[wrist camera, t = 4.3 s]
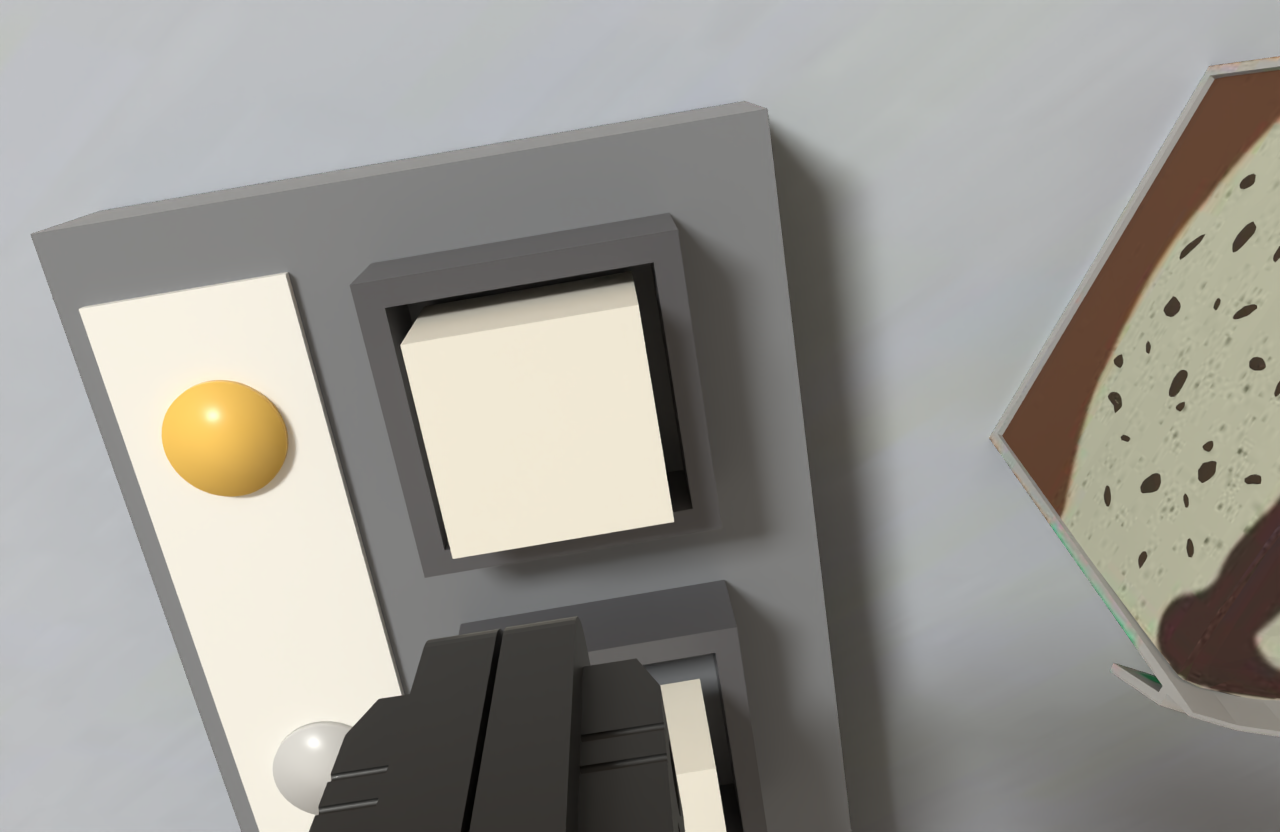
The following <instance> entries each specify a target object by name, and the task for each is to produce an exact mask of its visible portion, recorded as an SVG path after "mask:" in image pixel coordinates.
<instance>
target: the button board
mask: <svg viewBox="0 0 1280 832" xmlns="http://www.w3.org/2000/svg"><path fill="white" fill-rule="evenodd" d="M31 237H32V240H33V243H34V246H35V248H36V251H37V254H38V257H39V260H40V263H41V265H42V268H43V271H44V274H45V277H46V280H47V282H48V285H49V288H50V291H51V294H52V297H53V299H54V302H55V305H56V308H57V311H58V314H59V316H60V319H61V322H62V325H63V328H64V331H65V333H66V336H67V339H68V342H69V345H70V348H71V350H72V353H73V356H74V359H75V362H76V364H77V367H78V370H79V373H80V376H81V379H82V381H83V384H84V387H85V390H86V393H87V396H88V398H89V401H90V404H91V407H92V410H93V413H94V415H95V418H96V421H97V424H98V427H99V430H100V432H101V435H102V438H103V441H104V444H105V447H106V449H107V452H108V455H109V458H110V461H111V464H112V466H113V469H114V472H115V475H116V478H117V481H118V483H119V486H120V489H121V492H122V495H123V498H124V500H125V503H126V506H127V509H128V512H129V515H130V517H131V520H132V523H133V526H134V529H135V532H136V534H137V537H138V540H139V543H140V546H141V549H142V551H143V554H144V557H145V560H146V563H147V566H148V568H149V571H150V574H151V577H152V580H153V583H154V585H155V588H156V591H157V594H158V597H159V600H160V602H161V605H162V608H163V611H164V614H165V617H166V619H167V622H168V625H169V628H170V631H171V633H172V636H173V639H174V642H175V645H176V648H177V650H178V653H179V656H180V659H181V662H182V665H183V667H184V670H185V673H186V676H187V679H188V682H189V684H190V687H191V690H192V693H193V696H194V699H195V701H196V704H197V707H198V710H199V713H200V716H201V718H202V721H203V724H204V727H205V730H206V733H207V735H208V738H209V741H210V744H211V747H212V750H213V752H214V755H215V758H216V761H217V764H218V767H219V769H220V772H221V775H222V778H223V781H224V784H225V786H226V789H227V792H228V795H229V798H230V801H231V803H232V806H233V809H234V812H235V815H236V818H237V820H238V823H239V826H240V829H241V832H309V830H310V827H311V825H312V822H313V819H314V817H315V815H319V809H318V806H319V803H320V801H321V798H322V795H323V793H324V790H325V787H326V785H327V782H330V781H331V771H332V769H333V766H334V763H335V761H336V758H337V755H338V753H339V750H340V747H341V745H342V742H343V739H344V737H345V735H346V734H347V733H348V731H349V730H350V729H351V728H352V727H353V726H354V725H355V724H356V723H357V722H358V721H359V720H360V718H361V717H362V716H363V715H364V714H365V713H366V712H367V711H368V710H369V709H370V708H371V707H372V705H373V704H374V703H375V702H376V701H377V700H378V699H381V698H387V697H394V696H400V695H407V694H410V692H411V688H412V685H413V682H414V678H415V675H416V672H417V668H418V665H419V662H420V658H421V655H422V651H423V648H424V645H425V643H426V642H427V641H428V640H431V639H437V638H444V637H450V636H456V635H463V634H469V633H475V632H482V631H488V630H495V629H502V630H503V631H504V630H505V628H506V627H512V626H518V625H525V624H531V623H537V622H544V621H550V620H557V619H563V618H569V617H576V616H578V617H579V619H580V621H581V624H582V627H583V631H584V635H585V640H586V645H587V650H588V655H589V660H590V665H597V664H603V663H610V662H616V661H623V660H629V659H635V658H636V659H637V660H638V661H639V662H640V663H641V664H642V665H643V667H644V668H645V669H646V670H647V671H648V672H649V673H650V674H651V676H652V677H653V678H654V679H655V680H656V681H657V682H658V684H659V685H664V684H670V683H676V682H682V681H688V680H694V679H700V683H701V689H702V694H703V700H704V705H705V711H706V716H707V722H708V727H709V733H710V738H711V744H712V749H713V755H714V760H715V766H716V772H717V778H718V784H719V790H720V796H721V802H722V808H723V814H724V820H725V826H726V832H851V824H850V815H849V806H848V798H847V789H846V781H845V772H844V763H843V755H842V746H841V738H840V729H839V720H838V712H837V703H836V695H835V686H834V678H833V669H832V660H831V652H830V643H829V635H828V626H827V617H826V609H825V600H824V592H823V583H822V574H821V566H820V557H819V549H818V540H817V531H816V523H815V514H814V506H813V497H812V488H811V480H810V471H809V463H808V454H807V445H806V437H805V428H804V420H803V411H802V403H801V394H800V385H799V377H798V368H797V360H796V351H795V342H794V334H793V325H792V317H791V308H790V299H789V291H788V282H787V274H786V265H785V256H784V248H783V239H782V231H781V222H780V213H779V205H778V196H777V188H776V179H775V170H774V162H773V153H772V145H771V136H770V128H769V119H768V110H767V108H764V107H761V106H758V105H755V104H752V103H749V102H746V101H742V102H736V103H730V104H725V105H719V106H713V107H707V108H701V109H695V110H689V111H683V112H678V113H672V114H666V115H660V116H654V117H648V118H642V119H637V120H631V121H625V122H619V123H613V124H607V125H601V126H595V127H590V128H584V129H578V130H572V131H566V132H560V133H554V134H548V135H543V136H537V137H531V138H525V139H519V140H513V141H507V142H501V143H496V144H490V145H484V146H478V147H472V148H466V149H460V150H455V151H449V152H443V153H437V154H431V155H425V156H419V157H413V158H408V159H402V160H396V161H390V162H384V163H378V164H372V165H366V166H361V167H355V168H349V169H343V170H337V171H331V172H325V173H320V174H314V175H308V176H302V177H296V178H290V179H284V180H278V181H273V182H267V183H261V184H255V185H249V186H243V187H237V188H231V189H226V190H220V191H214V192H208V193H202V194H196V195H190V196H185V197H179V198H173V199H167V200H161V201H155V202H149V203H143V204H138V205H132V206H126V207H120V208H114V209H108V210H102V211H98V212H95V213H92V214H89V215H86V216H83V217H80V218H77V219H74V220H71V221H68V222H65V223H62V224H59V225H56V226H53V227H50V228H47V229H44V230H41V231H38V232H35V233H32V234H31ZM630 271H632V276H633V281H634V286H635V291H636V295H637V300H638V305H639V311H640V317H641V323H642V329H643V335H644V341H645V348H646V354H647V360H648V366H649V372H650V378H651V384H652V390H653V396H654V402H655V408H656V414H657V420H658V426H659V432H660V438H661V444H662V450H663V456H664V462H665V469H666V475H667V481H668V487H669V493H670V499H671V505H672V511H673V517H674V522H671V523H665V524H659V525H653V526H647V527H641V528H635V529H629V530H623V531H617V532H611V533H605V534H599V535H593V536H587V537H581V538H576V539H570V540H564V541H558V542H552V543H546V544H540V545H534V546H528V547H522V548H516V549H510V550H504V551H498V552H492V553H486V554H480V555H474V556H468V557H462V558H456V559H453V558H452V554H451V550H450V546H449V542H448V538H447V534H446V529H445V525H444V521H443V517H442V513H441V509H440V505H439V501H438V497H437V493H436V489H435V485H434V481H433V476H432V472H431V468H430V464H429V460H428V456H427V452H426V448H425V444H424V440H423V436H422V432H421V428H420V423H419V419H418V415H417V411H416V407H415V403H414V399H413V395H412V391H411V387H410V383H409V379H408V375H407V370H406V366H405V362H404V358H403V354H402V350H401V346H400V345H401V343H402V342H403V340H404V338H405V337H406V335H407V334H408V332H409V330H410V329H411V327H412V326H413V324H414V322H415V321H416V319H417V318H418V316H419V314H420V313H421V311H422V310H423V308H424V306H430V305H435V304H441V303H447V302H453V301H459V300H465V299H471V298H477V297H483V296H489V295H495V294H500V293H506V292H512V291H518V290H524V289H530V288H536V287H542V286H548V285H554V284H559V283H565V282H571V281H577V280H583V279H589V278H595V277H601V276H607V275H613V274H619V273H624V272H630Z"/></svg>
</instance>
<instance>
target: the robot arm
mask: <svg viewBox="0 0 1280 832" xmlns="http://www.w3.org/2000/svg"><path fill="white" fill-rule="evenodd" d="M318 809H319V815H315V817H314V819H313V822H312V825H311V827H310V830H309V832H685V826H684V816H683V810H682V804H681V798H680V793H679V787H678V782H677V776H676V770H675V765H674V759H673V753H672V748H671V742H670V737H669V731H668V725H667V720H666V714H665V708H664V703H663V697H662V692H661V686H660V685H659V684H658V682H657V681H656V680H655V679H654V678H653V677H652V676H651V674H650V673H649V672H648V671H647V670H646V669H645V668H644V667H643V665H642V664H641V663H640V662H639V661H638V660H637V659H636V658H635V659H629V660H623V661H616V662H610V663H603V664H597V665H590V660H589V655H588V650H587V645H586V640H585V635H584V631H583V627H582V624H581V621H580V619H579V617H578V616H576V617H569V618H563V619H557V620H550V621H544V622H537V623H531V624H525V625H518V626H512V627H506V628H505V630H504V631H503V630H502V629H495V630H488V631H482V632H475V633H469V634H463V635H456V636H450V637H444V638H437V639H431V640H428V641H427V642H426V643H425V645H424V648H423V651H422V655H421V658H420V662H419V665H418V668H417V672H416V675H415V678H414V682H413V685H412V688H411V692H410V694H407V695H400V696H394V697H387V698H381V699H378V700H377V701H376V702H375V703H374V704H373V705H372V707H371V708H370V709H369V710H368V711H367V712H366V713H365V714H364V715H363V716H362V717H361V718H360V720H359V721H358V722H357V723H356V724H355V725H354V726H353V727H352V728H351V729H350V730H349V731H348V733H347V734H346V735H345V737H344V739H343V742H342V745H341V747H340V750H339V753H338V755H337V758H336V761H335V763H334V766H333V769H332V771H331V781H330V782H327V785H326V787H325V790H324V793H323V795H322V798H321V801H320V803H319V806H318Z"/></svg>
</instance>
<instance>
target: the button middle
mask: <svg viewBox="0 0 1280 832" xmlns="http://www.w3.org/2000/svg"><path fill="white" fill-rule="evenodd" d="M660 686H661V692H662V697H663V703H664V708H665V714H666V720H667V725H668V731H669V737H670V742H671V748H672V753H673V759H674V765H675V770H676V776H677V782H678V787H679V793H680V798H681V804H682V810H683V816H684V826H685V832H726V826H725V820H724V814H723V808H722V802H721V796H720V790H719V784H718V778H717V772H716V766H715V760H714V755H713V749H712V744H711V738H710V733H709V727H708V722H707V716H706V711H705V705H704V700H703V694H702V689H701V683H700V679H694V680H688V681H682V682H676V683H670V684H664V685H660Z"/></svg>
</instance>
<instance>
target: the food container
mask: <svg viewBox="0 0 1280 832" xmlns="http://www.w3.org/2000/svg"><path fill="white" fill-rule="evenodd" d="M989 438H990V440H991V441H992V443H993V444H994V446H995V447H996V448H997V450H998V451H999V453H1000V454H1001V456H1002V457H1003V458H1004V460H1005V461H1006V463H1007V464H1008V466H1009V467H1010V468H1011V470H1012V471H1013V473H1014V474H1015V476H1016V477H1017V478H1018V480H1019V481H1020V483H1021V484H1022V486H1023V487H1024V488H1025V490H1026V491H1027V493H1028V494H1029V496H1030V497H1031V498H1032V500H1033V501H1034V503H1035V504H1036V506H1037V507H1038V508H1039V510H1040V511H1041V513H1042V514H1043V516H1044V517H1045V518H1046V520H1047V521H1048V523H1049V524H1050V526H1051V527H1052V528H1053V530H1054V531H1055V533H1056V534H1057V536H1058V537H1059V538H1060V540H1061V541H1062V543H1063V544H1064V546H1065V547H1066V548H1067V550H1068V551H1069V553H1070V554H1071V556H1072V557H1073V558H1074V560H1075V561H1076V563H1077V564H1078V566H1079V567H1080V568H1081V570H1082V571H1083V573H1084V574H1085V576H1086V577H1087V578H1088V580H1089V581H1090V583H1091V584H1092V586H1093V587H1094V588H1095V590H1096V591H1097V593H1098V594H1099V596H1100V597H1101V598H1102V600H1103V601H1104V603H1105V604H1106V606H1107V607H1108V608H1109V610H1110V611H1111V613H1112V614H1113V616H1114V617H1115V618H1116V620H1117V621H1118V623H1119V624H1120V626H1121V627H1122V628H1123V630H1124V631H1125V633H1126V634H1127V636H1128V637H1129V638H1130V640H1131V641H1132V643H1133V644H1134V646H1135V647H1136V648H1137V650H1138V651H1139V653H1140V654H1141V656H1142V657H1143V658H1144V660H1145V661H1146V663H1147V664H1148V666H1149V667H1150V668H1151V670H1152V671H1153V673H1154V674H1155V676H1154V675H1151V674H1148V673H1144V672H1141V671H1138V670H1135V669H1132V668H1128V667H1125V666H1122V665H1119V664H1115V663H1113V666H1112V668H1111V670H1110V672H1111V673H1113V674H1114V675H1116V676H1117V677H1118V678H1120V679H1121V680H1123V681H1124V682H1126V683H1127V684H1129V685H1130V686H1132V687H1133V688H1135V689H1136V690H1138V691H1139V692H1141V693H1142V694H1143V695H1145V696H1146V697H1148V698H1149V699H1151V700H1152V701H1154V702H1155V703H1157V704H1158V705H1160V706H1163V707H1166V708H1170V709H1173V710H1176V711H1179V712H1183V713H1186V714H1188V715H1189V716H1190V717H1193V718H1196V719H1199V720H1203V721H1206V722H1209V723H1213V724H1216V725H1220V726H1223V727H1226V728H1230V729H1233V730H1236V731H1243V732H1250V733H1257V734H1263V735H1270V736H1277V737H1280V56H1279V57H1272V58H1264V59H1257V60H1250V61H1242V62H1235V63H1228V64H1220V65H1213V66H1209V67H1208V69H1207V71H1206V73H1205V74H1204V76H1203V78H1202V79H1201V81H1200V83H1199V84H1198V86H1197V88H1196V89H1195V91H1194V93H1193V95H1192V96H1191V98H1190V100H1189V101H1188V103H1187V105H1186V106H1185V108H1184V110H1183V111H1182V113H1181V115H1180V116H1179V118H1178V120H1177V122H1176V123H1175V125H1174V127H1173V128H1172V130H1171V132H1170V133H1169V135H1168V137H1167V138H1166V140H1165V142H1164V143H1163V145H1162V147H1161V149H1160V150H1159V152H1158V154H1157V155H1156V157H1155V159H1154V160H1153V162H1152V164H1151V165H1150V167H1149V169H1148V171H1147V172H1146V174H1145V176H1144V177H1143V179H1142V181H1141V182H1140V184H1139V186H1138V187H1137V189H1136V191H1135V192H1134V194H1133V196H1132V198H1131V199H1130V201H1129V203H1128V204H1127V206H1126V208H1125V209H1124V211H1123V213H1122V214H1121V216H1120V218H1119V219H1118V221H1117V223H1116V225H1115V226H1114V228H1113V230H1112V231H1111V233H1110V235H1109V236H1108V238H1107V240H1106V241H1105V243H1104V245H1103V247H1102V248H1101V250H1100V252H1099V253H1098V255H1097V257H1096V258H1095V260H1094V262H1093V263H1092V265H1091V267H1090V268H1089V270H1088V272H1087V274H1086V275H1085V277H1084V279H1083V280H1082V282H1081V284H1080V285H1079V287H1078V289H1077V290H1076V292H1075V294H1074V295H1073V297H1072V299H1071V301H1070V302H1069V304H1068V306H1067V307H1066V309H1065V311H1064V312H1063V314H1062V316H1061V317H1060V319H1059V321H1058V323H1057V324H1056V326H1055V328H1054V329H1053V331H1052V333H1051V334H1050V336H1049V338H1048V339H1047V341H1046V343H1045V344H1044V346H1043V348H1042V350H1041V351H1040V353H1039V355H1038V356H1037V358H1036V360H1035V361H1034V363H1033V365H1032V366H1031V368H1030V370H1029V371H1028V373H1027V375H1026V377H1025V378H1024V380H1023V382H1022V383H1021V385H1020V387H1019V388H1018V390H1017V392H1016V393H1015V395H1014V397H1013V399H1012V400H1011V402H1010V404H1009V405H1008V407H1007V409H1006V410H1005V412H1004V414H1003V415H1002V417H1001V419H1000V420H999V422H998V424H997V426H996V427H995V429H994V431H993V432H992V434H991V436H990V437H989Z"/></svg>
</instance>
